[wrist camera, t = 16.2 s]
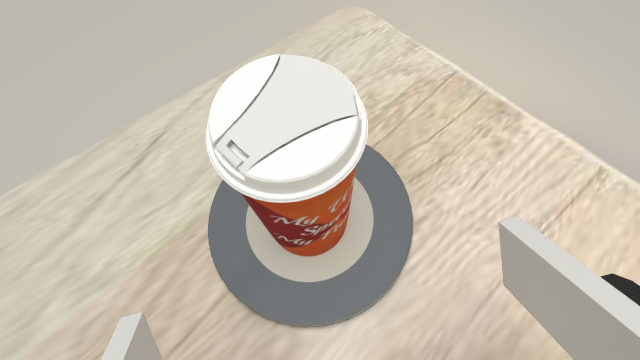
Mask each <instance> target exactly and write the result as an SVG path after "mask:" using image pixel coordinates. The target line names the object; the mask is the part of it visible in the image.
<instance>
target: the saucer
mask: <svg viewBox="0 0 640 360" xmlns="http://www.w3.org/2000/svg"><path fill="white" fill-rule="evenodd" d="M412 233H413V217H412V209H411V204H410V200H409V197H408V193H407V191H406V189H405V187H404V184H403V182H402V180H401V179H400V177H399V175H398V174H397V172H396V171H395V170H394V168H393V167H392V166H391V165H390V163H389V162H388V161H387V160H386V159H385V158H384V157H383V156H382V155H381V154H379V153H378V152H377V151H375V150H374V149H373V148H371V147H370V146H368V145H365V149H364V151H363V153H362V156H361V158H360V160H359V161H358V163H357V165H356V171H355V178H354V185H353V191H352V198H351V204H350V210H349V216H348V221H347V225H346V229H345V231H344V234H343V236H342V238H341V239H340V241H339V242H338V243H337V244H336V245H335V246H334V247H333V248H332V249H330V250H329V251H327V252H325V253H323V254H320V255H317V256H309V257H306V256H299V255H295V254H293V253H290V252H289V251H287V250H285V249H284V248H283V247H282V246H280V245H279V244H278V242H277V241H276V240H275V239H274V238H273V236H272V235H271V234H270V233H269V231H268V230H267V229H266V227H265V226H264V225H263V223H262V222H261V220H260V219H259V218H258V216H257V215H256V214H255V212H254V211H253V210H252V208H251V207H250V206H249V204H248V203H247V201H246V200H245V198H244V197H243V196H242V194H241V193H240V192H239V191H237V190H235V189H234V188H232V187H231V186H230V185H229V184H228V183H226V182H225V181H224V180H223V181H222V182H221V184H220V186H219V188H218V190H217V192H216V194H215V197H214V200H213V203H212V205H211V210H210V215H209V224H208V238H209V246H210V251H211V256H212V258H213V261H214V264H215V267H216V269H217V271H218V273H219V275H220V276H221V278H222V280H223V281H224V283H225V284H226V285H227V287H228V288H229V289H230V291H231V292H232V293H233V294H234V295H235V296H236V297H237V298H238V299H239V300H240V301H242V302H243V303H244V304H245V305H247V306H248V307H249V308H251V309H252V310H253V311H255V312H257V313H259V314H260V315H262V316H264V317H266V318H268V319H271V320H273V321H276V322H279V323H283V324H287V325H291V326H301V327H317V326H325V325H330V324H335V323H338V322H341V321H344V320H348V319H350V318H352V317H354V316H356V315H358V314H360V313H362V312H363V311H365V310H366V309H368V308H369V307H371V306H372V305H374V304H375V303H376V302H377V301H378V300H379V299H380V298H381V297H383V296H384V294H385V293H386V292H387V291H388V290H389V289H390V287H391V286H392V285H393V283H394V282H395V280H396V279H397V277H398V276H399V274H400V272H401V270H402V267H403V265H404V263H405V261H406V259H407V255H408V252H409V249H410V245H411V239H412Z"/></svg>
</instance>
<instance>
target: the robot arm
mask: <svg viewBox="0 0 640 360" xmlns="http://www.w3.org/2000/svg"><path fill="white" fill-rule="evenodd" d="M499 234H500V246H501V258H502V270H503V282H504V286H505V287H506V288H507V289H508V290H509V291H510V292H511V293H512V294H513V296H514V297H515V298H516V299H517V300H518V301H519V302H520V303H521V304H522V305H523V306H524V307H525V308H526V309H527V310H528V311H529V313H530V314H531V315H532V316H533V317H534V318H535V319H536V320H537V321H538V322H539V323H540V324H541V325H542V326H543V327H544V328H545V330H546V331H547V332H548V333H549V334H550V335H551V336H552V337H553V338H554V339H555V340H556V341H557V342H558V343H559V344H560V345H561V347H562V348H563V349H564V350H565V351H566V352H567V353H568V354H569V355H570V356H571V357H572V358H573V359H574V360H640V286H639V285H637V284H636V283H634V282H633V281H631V280H628V279H626V278H623V277H620V276H618V275H615V274H609V275H605V276H601V277H600V276H598V275H597V274H595V273H594V272H593V271H591V270H590V269H589V268H587V267H586V266H585V265H583V264H582V263H581V262H579V261H578V260H576V259H575V258H574V257H572V256H571V255H570V254H568V253H567V252H566V251H564V250H563V249H562V248H560V247H559V246H557V245H556V244H555V243H553V242H552V241H551V240H549V239H548V238H547V237H545V236H544V235H543V234H541V233H540V232H538V231H537V230H536V229H534V228H533V227H532V226H530V225H529V224H528V223H526V222H525V221H524V220H522V219H521V218H519V217H515V218H511V219H507V220H504V221H500V222H499ZM101 360H163V359H162V357H161V354H160V352H159V350H158V347H157V345H156V342H155V340H154V338H153V335H152V333H151V330H150V328H149V326H148V323H147V321H146V318H145V316H144V314H143V312H141V313H137V314H133V315H129V316H125V317H121V319H120V321H119V323H118V325H117V327H116V329H115V332H114V334H113V336H112V338H111V340H110V342H109V344H108V346H107V348H106V350H105V352H104V354H103V356H102V359H101Z"/></svg>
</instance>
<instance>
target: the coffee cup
mask: <svg viewBox="0 0 640 360" xmlns="http://www.w3.org/2000/svg"><path fill="white" fill-rule="evenodd" d="M367 136H368V121H367V114H366V111H365V108H364V105H363V103H362V101H361V99H360V97H359V95H358V93H357V91H356V89H355V87H354V85H353V84H352V83H351V82H350V81H349V79H348V78H347V77H346V76H345V75H344V74H343V73H341V72H340V71H339V70H337V69H336V68H334V67H333V66H331V65H328V64H326V63H323V62H321V61H319V60H317V59H313V58H310V57H306V56H298V55H285V54H281V55H280V54H277V55H272V56H267V57H263V58H260V59H258V60H255V61H253V62H251V63H249V64H247V65H245V66H243V67H242V68H240V69H239V70H237V71H236V72H234V73H233V74H232V75H231V76H230V77H229V78H228V79H227V80H226V81H225V82H224V83H223V85H222V86H221V87H220V89H219V90H218V92H217V94H216V95H215V97H214V100H213V102H212V105H211V108H210V113H209V119H208V124H207V128H206V145H207V151H208V154H209V157H210V160H211V162H212V164H213V166H214V168H215V170H216V171H217V173H218V174H219V175H220V176H221V177H222V179H223V180H224V181H225V182H226V183H228V184H229V185H230V186H231V187H232V188H234V189H235V190H237V191H239V192H240V193H241V194H242V196H243V197H244V198H245V200H246V201H247V203H248V204H249V206H250V207H251V208H252V210H253V211H254V212H255V214H256V215H257V216H258V218H259V219H260V220H261V222H262V223H263V225H264V226H265V227H266V229H267V230H268V231H269V233H270V234H271V235H272V236H273V238H274V239H275V240H276V241H277V242H278V244H279V245H280V246H282V247H283V248H284V249H285V250H287V251H289V252H290V253H293V254H295V255H299V256H306V257H309V256H317V255H320V254H323V253H325V252H327V251H329V250H330V249H332V248H333V247H334V246H335V245H336V244H337V243H338V242H339V241H340V239H341V238H342V236H343V234H344V231H345V229H346V225H347V221H348V216H349V210H350V204H351V198H352V191H353V185H354V178H355V171H356V165H357V163H358V161H359V160H360V158H361V156H362V153H363V151H364V149H365V145H366V141H367Z"/></svg>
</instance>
